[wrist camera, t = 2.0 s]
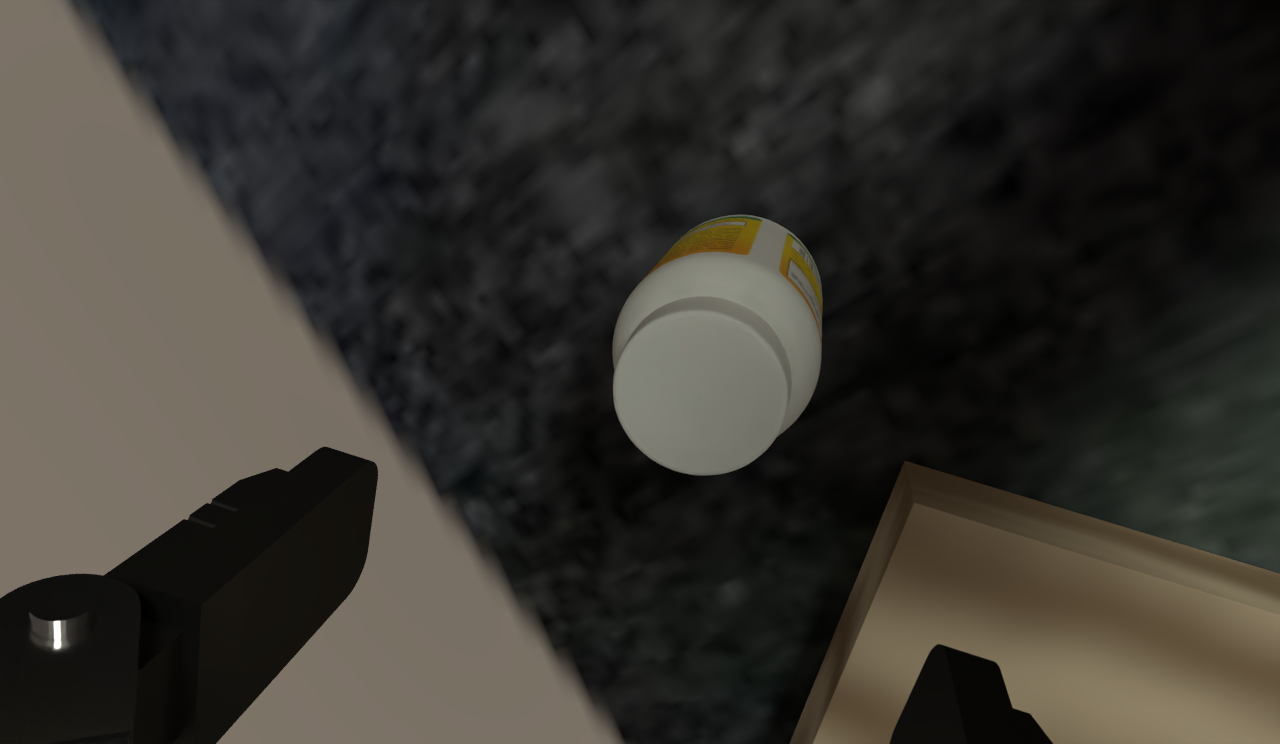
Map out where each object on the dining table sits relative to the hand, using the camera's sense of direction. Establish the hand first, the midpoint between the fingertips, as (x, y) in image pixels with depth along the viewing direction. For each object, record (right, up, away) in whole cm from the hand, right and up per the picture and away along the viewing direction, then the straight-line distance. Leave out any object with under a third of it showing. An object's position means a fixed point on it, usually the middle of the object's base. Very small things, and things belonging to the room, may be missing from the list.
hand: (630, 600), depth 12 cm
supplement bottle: (+3, +6, +16) cm, 17 cm away
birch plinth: (+15, -9, +19) cm, 26 cm away
